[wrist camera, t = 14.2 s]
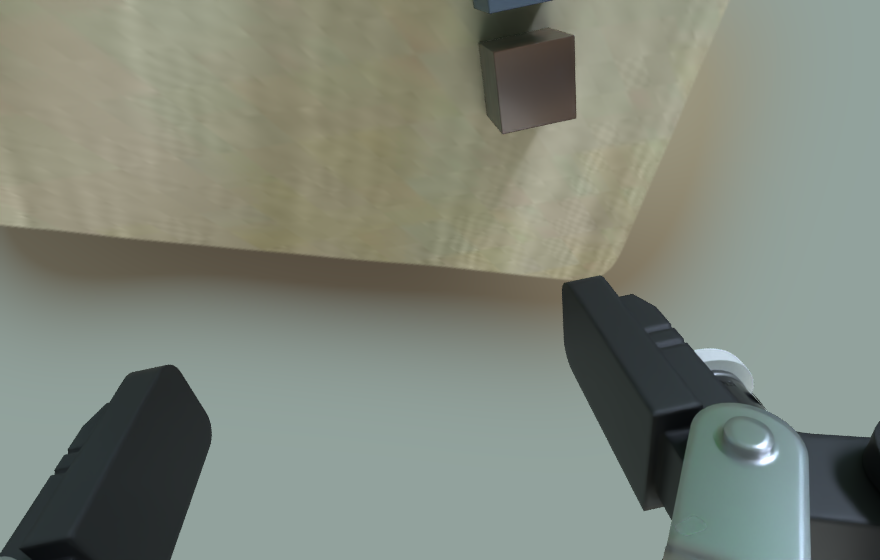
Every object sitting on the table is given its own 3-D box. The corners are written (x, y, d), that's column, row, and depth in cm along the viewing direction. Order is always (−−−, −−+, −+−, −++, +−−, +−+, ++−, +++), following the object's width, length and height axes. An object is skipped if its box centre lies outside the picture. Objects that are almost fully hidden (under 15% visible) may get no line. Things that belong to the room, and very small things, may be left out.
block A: (552, 101, 33) (576, 118, 29) (487, 115, 33) (502, 134, 29) (549, 27, 31) (574, 35, 27) (478, 42, 31) (493, 52, 27)
